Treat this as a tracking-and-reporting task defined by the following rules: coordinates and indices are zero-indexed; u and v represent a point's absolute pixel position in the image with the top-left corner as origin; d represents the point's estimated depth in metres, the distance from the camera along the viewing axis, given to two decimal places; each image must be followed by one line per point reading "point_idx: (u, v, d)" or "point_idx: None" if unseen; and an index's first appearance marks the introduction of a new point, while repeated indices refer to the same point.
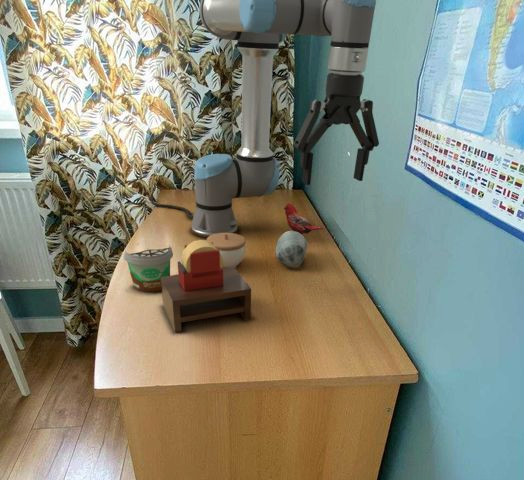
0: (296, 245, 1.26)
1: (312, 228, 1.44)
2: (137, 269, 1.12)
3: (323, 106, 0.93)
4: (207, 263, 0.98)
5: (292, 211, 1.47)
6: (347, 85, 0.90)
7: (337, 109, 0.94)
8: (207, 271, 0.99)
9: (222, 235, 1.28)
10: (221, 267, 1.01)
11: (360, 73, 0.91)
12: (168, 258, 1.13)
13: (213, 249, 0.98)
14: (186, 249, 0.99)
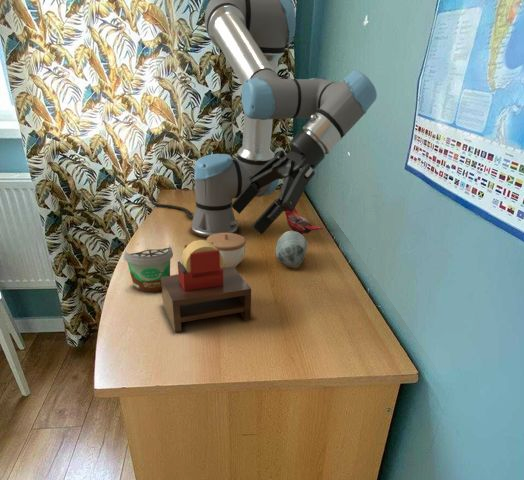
0: (296, 245, 1.26)
1: (312, 228, 1.44)
2: (137, 269, 1.12)
3: None
4: (207, 263, 0.98)
5: (292, 211, 1.47)
6: None
7: None
8: (207, 271, 0.99)
9: (222, 235, 1.28)
10: (221, 267, 1.01)
11: (311, 135, 0.92)
12: (168, 258, 1.13)
13: (213, 249, 0.98)
14: (186, 249, 0.99)
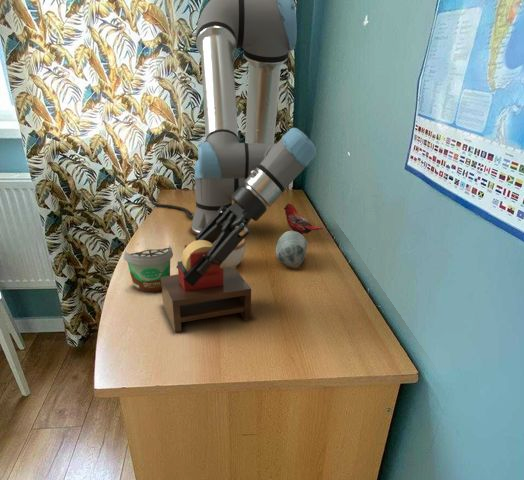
0: (296, 245, 1.26)
1: (312, 228, 1.44)
2: (137, 269, 1.12)
3: None
4: None
5: (292, 211, 1.47)
6: (236, 189, 0.96)
7: None
8: (207, 271, 0.99)
9: None
10: (221, 267, 1.01)
11: (252, 190, 0.94)
12: (168, 258, 1.13)
13: None
14: (186, 249, 0.99)
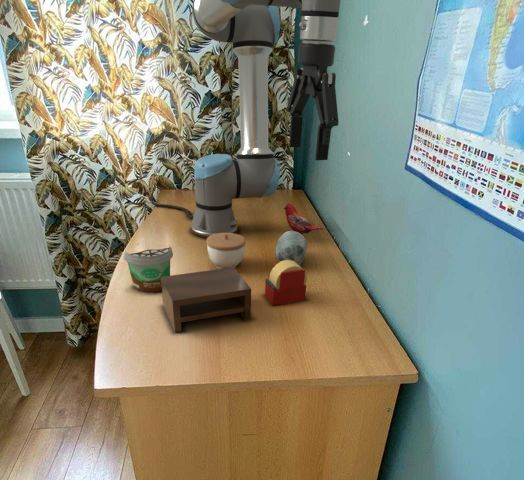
0: (296, 245, 1.26)
1: (312, 228, 1.44)
2: (137, 269, 1.12)
3: (302, 74, 1.00)
4: (294, 280, 1.11)
5: (292, 211, 1.47)
6: (298, 52, 0.94)
7: None
8: (293, 287, 1.12)
9: (222, 235, 1.28)
10: (304, 284, 1.14)
11: (311, 42, 0.91)
12: (168, 258, 1.13)
13: (300, 268, 1.10)
14: (275, 268, 1.11)
